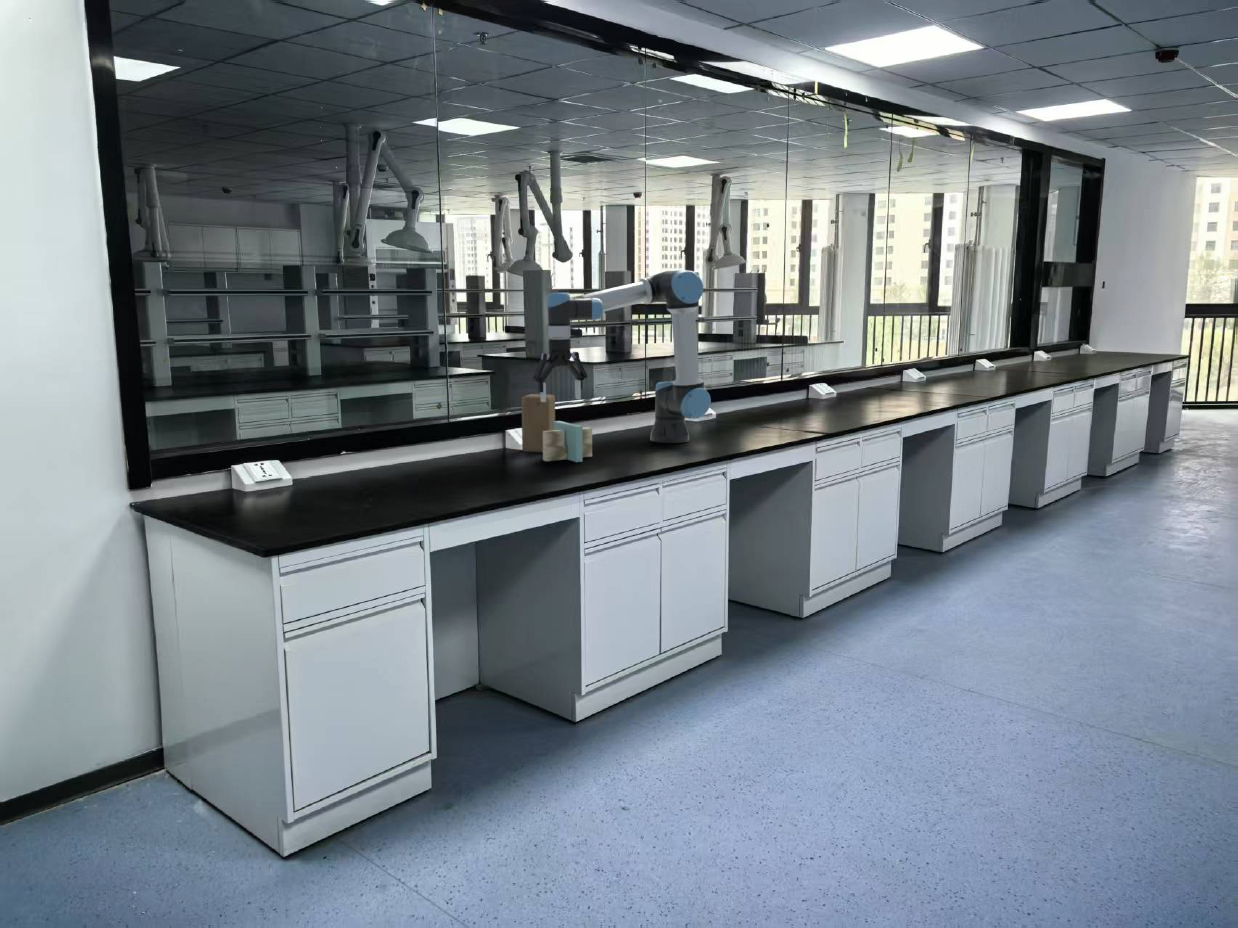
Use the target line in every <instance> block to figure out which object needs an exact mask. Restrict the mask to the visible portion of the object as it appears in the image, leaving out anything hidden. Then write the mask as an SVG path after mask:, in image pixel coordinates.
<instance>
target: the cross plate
mask: <svg viewBox="0 0 1238 928" xmlns="http://www.w3.org/2000/svg"><path fill="white" fill-rule="evenodd" d="M553 422H554V430H564V444H566V445H568V459H567V460H568V461H571V462H574V463H579V462H580V463H583V458H582V428H583V426H582V425H579V424H573V423H570V422H566V421H563V420H562V421H561V420H555V421H553Z"/></svg>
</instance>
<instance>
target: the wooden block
mask: <svg viewBox="0 0 1238 928" xmlns="http://www.w3.org/2000/svg"><path fill="white" fill-rule="evenodd" d="M553 421H556V396H555V395H554V394H547V393H546V402H541V396H540V393H530V394H527V395H524V396H522V397H521V436H522V437H521V439H522V441H521V447H522V451H523V452H524V453H542V454H543V431H550V430H554V422H553Z"/></svg>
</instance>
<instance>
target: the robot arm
mask: <svg viewBox="0 0 1238 928" xmlns="http://www.w3.org/2000/svg"><path fill="white" fill-rule="evenodd" d="M703 293H704V284H703V280H702V279H701V277H700V275H698V274H697V273H696V272H695V271H693V270H687V269H681V270H678V269H677V270H666V271H662V272H659V273H655V274H653V275H650V276H646V277H643V278H640V279H639V281H637V282H632V283H628V284H626V285H625V284H624V285H619V286H616V287H615V286H614V287H611V288H608V289H607V288H606V289H602V290H599V291H598V290H597V291H593V292H589V293H586V294H581V295H576V296H572V297H571V296H570V293H569V292H550V293H549V294H548V295H547V305H546V306H547V322H548V325H547V326H548V327H547V328H548V329H547V330H548V333H547V334H548V338H549V339H548V353H543V352H542V353H540V358H539V359H540V360H539V362H538V365H537V367H536V369H535V372H534V374H533V377H532V381H533V382H536V383H537V391H538V393H539V394H540V396H541V402H546V394H547V382H545V381H546V379H547V378H548V376H549V375H550V374H551V372H552V371H553V369H554V368H555V367H561V366H563V367H564V366H565V367H567V368H568V370H569V371H570V372H571V373H572V375H573V376H574V377H575V378H576V379H575V380H574V399H576V400H582V397H581V396H582V395H581V394H582V393H581V391H582V390H583V381H584V380H585V379H587V378H588V374H587V372H586V369H585V367H584V365H583V363H582V361H581V359H580V353H579V352H578V351H573V352H571V347H572V346H571V339H570V338H571V321H597V320H600V319H601V318H602V317H603V314H604V313H603V312H608V311H613V310H616V309H620V308H625V307H629V306H632V305H633V306H634V305H637V304H641V303H642V304H645V305H649V304H655V303H665V304H666V310H667V311H668V312H669V313H670V314H671V324H672V325H671V326H672V337H673V338H672V339H673V341H672V342H673V351H674V354H673V355H674V364H675V365H674V366H675V368H674V369H675V380H673V381H660V382H657V383H656V384H655V390H654V394H655V395H654V396H655V398H654V399H655V402H654V408H655V409H654V413H655V414H654V415H655V416H654V423H653V426H652V429H651V432H650V441H651V442H655V443H661V444H678V443H679V444H680V443H682V444H683V443H687V442H689V441H690V434H689V430H688V427H687V423H686V419H690V420H691V419H695V420H696V419H699V418H701V417H704V416H705V415H706V413H708V412H709V409H710V407H711V402H712V401H711V400H712V399H711V395H710V393H709V392H708V390H707V389H705V383H704V382H705V381H704V380H703V379H702V378H701V376H700V367H699V355H698V354H699V353H698V340H697V338H698V337H697V323H696V311H697V309H698V308H699V300H700V299H701V297H702V296H703ZM571 358H572V359H573V361H571ZM548 360H549V362H548ZM573 362H574V363H575V366H576V367H575V366H574V364H573ZM545 366H546V367H545Z"/></svg>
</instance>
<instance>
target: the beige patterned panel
mask: <svg viewBox="0 0 1238 928" xmlns="http://www.w3.org/2000/svg"><path fill="white" fill-rule="evenodd" d="M592 457H593V428H592V427H582V459H583V458H592ZM562 460H568V445H566V444H564V430H550V431H543V453H542V461H544V462H551V461H562Z"/></svg>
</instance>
